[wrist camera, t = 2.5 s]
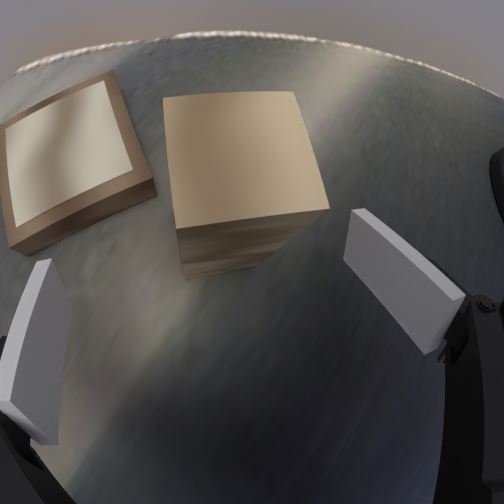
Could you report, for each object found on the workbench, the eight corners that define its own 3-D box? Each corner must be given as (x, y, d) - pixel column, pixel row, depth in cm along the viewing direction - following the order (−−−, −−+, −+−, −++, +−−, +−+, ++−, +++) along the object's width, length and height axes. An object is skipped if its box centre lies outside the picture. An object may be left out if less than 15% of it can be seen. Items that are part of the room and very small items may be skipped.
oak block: (242, 199, 22) (293, 91, 11) (255, 266, 22) (329, 208, 10) (173, 208, 21) (162, 98, 10) (183, 278, 20) (176, 228, 9)
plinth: (118, 92, 22) (113, 68, 19) (156, 195, 21) (152, 176, 18) (10, 144, 19) (-4, 126, 16) (28, 256, 18) (8, 247, 15)
